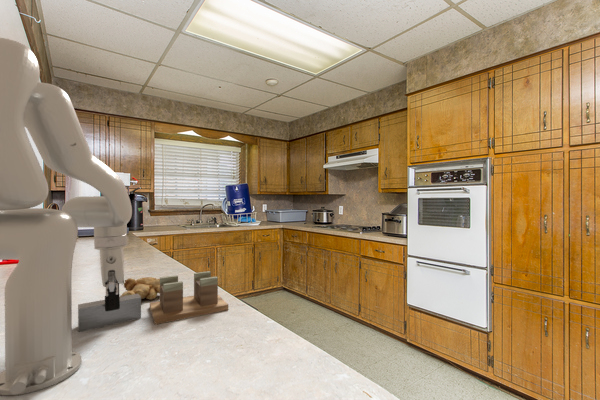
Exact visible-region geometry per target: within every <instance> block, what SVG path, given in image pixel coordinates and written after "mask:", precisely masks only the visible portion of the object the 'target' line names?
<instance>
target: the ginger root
mask: <svg viewBox="0 0 600 400" xmlns="http://www.w3.org/2000/svg"><path fill="white" fill-rule="evenodd" d="M123 288H124V289H125V291H124V292H122V294H121V295H119V297H122V296H128V295H133V294H139V295H140V297H141V300H143V299H144V300H145V298H146V299H147V300H151V301H152V300H154V299H157V296H158V294H160V278H157V277H151V276H146V277H139V278H138V279H135V278H127V279H124V284H123Z"/></svg>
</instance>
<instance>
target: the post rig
mask: <svg viewBox="0 0 600 400" xmlns="http://www.w3.org/2000/svg"><path fill="white" fill-rule="evenodd" d="M159 279H160V293H159V301H153V302H149V310H150V313H151V316H152V320H153V323H154V325H159V324H163V323H164V324H165V323H169V322H175V321H179V320H183V319H184V318H185V319H189V317H190V318H194V317H198V316H204V315H208V314H213V313H218V312H223V311H228V310H229V304H228V303H227V302H226V301H225V300H224V299H223V298H222V297H221V296H220V295H219V294H218V293H219V291H218V288H219V285H218V284H219V280H218V276H212V272H211V271H209V270H207V271H200V272H194V273H193V295H189V296H188V295H187V296H184V282H183V281H182V280H181V281H179V275H169V276H168V275H167V276H162V277H159Z"/></svg>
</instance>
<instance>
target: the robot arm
mask: <svg viewBox="0 0 600 400" xmlns="http://www.w3.org/2000/svg"><path fill="white" fill-rule="evenodd" d="M40 72H41V71H40V65H39V61H38V59H37V57H36V55H35V53H34V52H33V51H32V50H31V48H29V47H28V46H26V45H25V44H23V43H21V42H19V41H16V40H13V39H9V38H4V37H0V260H6V261H7V260H14V261H15V260H16V261H18V263H17V264H16V266H15V268H14V269H13V270H12V272H11V273H10V274H9V276H8V278H7V279H6V282H5V286H4V370H3V371H2V372H0V395H2V396H17V395H18V394H19V395H24V393H25V394H30V393H33V392H36V391H40V390H43V389H46V388H48V387H51V386H54V385H55V384H57V383H58V384H59V383H60V382H62V381H64V380H65V379H67V378H69V377H70V376H72V375H73V374H74V373H76V372H77V371H78V370H79V368H80V367H81V365H82V361H83V360H82V356H81V355H80V354H79V353H78V352H75V351H73V350H72V349H73V347H72V346H73V345H72V344H73V340H72V338H73V337H72V335H73V334H72V333H73V332H72V331H73V329H72V328H73V326H72V325H73V323H72V322H73V321H72V319H73V316H72V313H73V312H72V311H73V310H72V304H73V303H72V302H73V301H72V299H73V298H72V294H73V293H72V287H73V286H72V278H73V277H72V276H73V275H72V273H73V260H74V253H75V248H76V246H77V240H78V236H79V235H78V234H79V228H93V242H94V243H93V245H94V246H93V247H94V250H99V260H100V261H99V262H100V263H99V264H100V272H101V273H100V276H101V282H102V287H104V288H105V295H104V300H105V311H112V310H117V309H119V308H120V285H121V286H124V283H125V262H124V261H125V257H124V255H125V254H124V248H125V247H127V246H128V226H127V224H128V223H129V222H130V220H131V219H132V215H133V207H132V203H131V199H130V196H129V193H128V192H129V191H128V190H127V187H126V185H125V182H124V181H123V179H122V178H121V177H120V176H119V175H118V174H117V173H116V172H115V171H114V170H113V169H112V168H111V167H109V165H106V164H105V163H104V162H103V161H102V160H100V159H99V158H97V157H96V156H95V155H94V154H93V153H92V151H91V149H90V146H89V143H88V141H87V139H86V136H85V134H84V130H83V128H82V126H81V124H80V121H79V118H78V114H77V113H76V110H75V108H74V104H73V103H72V100H71V98H70V96H69V95H68V93H67V92H66V91H65V90H64V89H63V88H61V87H59V86H58V85H54V84H52V83H47V82H41V81H40V76H41V73H40ZM39 81H40V82H39ZM26 129H27V130H26ZM27 131H28V133H29V136H30V137H31V139H32V141H33V143H34V145H35V147H36V149H37V150H38V151H37V152H38V153H39V155H40V157H41V159H42V160H43V163H44V165H45V166H46V168H49V169H50V170H52V171H54V172H57V173H59V174H62V175H64V176H66V177H70V178H72V179H75V180H77V181H80V182H83V183H85V184H86V185H89V186H91V187H93V188H94V189H95V190H96V191H98V192H99V193H100V194H101V196H100V195H99V196H98V195H96V196H95V195H94V196H76V197H72V198H70V199H68V200H66V201H65V203H64V204H63V206H62V207H61V210H60V209H54V208H46V207H45V208H44V207H43V208H42V207H41V208H40V207H39V208H37V207H38V206H39V205H41V204H43V203H44V202H45V201H46V199H48V196H49V184H48V180H47V178H46V176H45V173H44V170H43V169H42V168H43V167H42V166H41V164H40V161H39V159H38V157H37V155H36V152H35V149H34V148H33V145H32V143H31V141H30V139H29V137H28V133H27ZM29 392H30V393H29ZM19 395H18V396H19Z"/></svg>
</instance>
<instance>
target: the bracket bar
mask: <svg viewBox="0 0 600 400" xmlns="http://www.w3.org/2000/svg"><path fill="white" fill-rule="evenodd" d="M119 297H120V296H119ZM138 319H142V299H141V297H140V295H139V294H133V295H128V296H122V297H120V308H119V309H117V310H112V311H105V299H100V300H95V301H90V302H84V303H80V304H77V328H78V329H77V330H78V332H79V333H81V332H85V331H90V330H94V329H98V328H103V327H107V326H112V325H116V324H120V323H125V322H129V321H134V320H138Z"/></svg>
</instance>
